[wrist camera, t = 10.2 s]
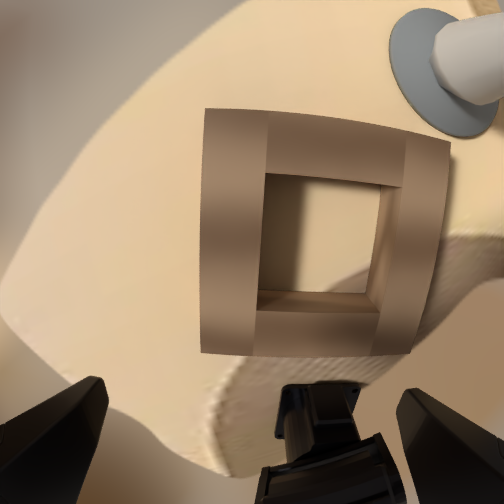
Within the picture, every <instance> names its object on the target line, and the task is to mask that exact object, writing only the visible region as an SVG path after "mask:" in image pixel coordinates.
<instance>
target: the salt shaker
mask: <svg viewBox="0 0 504 504" xmlns="http://www.w3.org/2000/svg"><path fill="white" fill-rule="evenodd" d="M428 61H429V63H430V65H431V68H432V70H433V72H434V75H435V77H436V80H437V82H438V85H440V86H442V87H443V88H445V89H446V90H448V91H450V92H451V93H453V94H454V95H456V96H457V97H459V98H461V99H463V100H466V101H468V102H471V103H473V104H475V105H484V104H488V103H492V102H494V101H496V100H498V99H500V98H502V97H504V12H501V13H495V14H489V15H484V16H479V17H474V18H469V19H464V20H460V21H456V22H452V23H448V24H446V25H445V26H444V27H443V28H442V29H441V30H440V31H439V32H438V33H437V34H436V35H435V41H434V46H433V51H432V54H431V56H430V58H429V60H428Z"/></svg>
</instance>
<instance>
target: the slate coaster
mask: <svg viewBox="0 0 504 504" xmlns="http://www.w3.org/2000/svg"><path fill="white" fill-rule="evenodd" d="M456 21H459V20H458V19H456V18H455V17H453V16H451V15H449V14H447V13H445V12H442V11H440V10H436V9H429V8H421V9H416V10H413V11H410V12H408V13H407V14H406V15H404V16H403V17H402V18H401V19H399V21H398V22H397V23H396V24H395V26H394V28H393V29H392V32H391V35H390V40H389V58H390V63H391V68H392V71H393V74H394V77H395V80H396V82H397V84H398V86H399V88H400V90H401V92H402V94H403V95H404V97H405V98H406V100H407V102H408V103H409V104H410V106H411V107H412V108H413V109H414V111H415V112H416V113H417V114H418V115H419V116H420V117H421V118H422V119H423V120H425V121H426V122H427V123H428V124H430V125H431V126H432V127H434V128H435V129H437V130H439V131H441V132H443V133H446V134H449V135H453V136H473V135H476V134H479V133H481V132H482V131H484V130H485V129H486V128H487V127H488V126H489V125H490V124H491V123H492V121H493V119H494V117H495V115H496V112H497V108H498V103H499V99H498V100H496V101H494V102H492V103H488V104H484V105H475V104H473V103H471V102H468V101H466V100H463V99H461V98H459V97H457V96H456V95H454V94H453V93H451V92H450V91H448V90H446V89H445V88H443V87H442V86H440V85H438V82H437V80H436V77H435V75H434V72H433V70H432V68H431V65H430V63H429V61H428V60H429V58H430V56H431V54H432V51H433V46H434V41H435V35H436V34H437V33H438V32H439V31H440V30H441V29H442V28H443V27H444V26H445V25H446V24H448V23H452V22H456Z"/></svg>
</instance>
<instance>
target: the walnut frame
mask: <svg viewBox="0 0 504 504" xmlns="http://www.w3.org/2000/svg"><path fill="white" fill-rule="evenodd" d="M450 148H451V142H449V141H445V140H441V139H438V138H434V137H430V136H426V135H422V134H418V133H414V132H409V131H405V130H400V129H396V128H391V127H386V126H381V125H376V124H370V123H365V122H359V121H353V120H346V119H340V118H333V117H325V116H317V115H309V114H300V113H289V112H278V111H264V110H247V109H214V108H205V118H204V135H203V154H202V176H201V206H200V344H201V353H209V354H223V355H239V356H260V357H303V358H318V357H361V356H381V355H397V354H410V352H411V349H412V346H413V343H414V340H415V336H416V333H417V330H418V327H419V324H420V320H421V317H422V313H423V310H424V306H425V302H426V299H427V295H428V291H429V287H430V283H431V279H432V274H433V270H434V265H435V261H436V256H437V251H438V246H439V240H440V235H441V229H442V223H443V216H444V209H445V202H446V194H447V185H448V175H449V163H450ZM265 173H277V174H290V175H302V176H313V177H323V178H333V179H342V180H351V181H359V182H367V183H375V184H382V186H381V195H380V204H379V212H378V220H377V227H376V234H375V241H374V248H373V254H372V260H371V266H370V271H369V277H368V282H367V287H366V292H365V294H364V293H325V292H297V291H274V290H258V276H259V261H260V246H261V231H262V216H263V201H264V185H265Z"/></svg>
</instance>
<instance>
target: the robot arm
mask: <svg viewBox="0 0 504 504" xmlns="http://www.w3.org/2000/svg"><path fill="white" fill-rule="evenodd" d="M353 389H355V390H353ZM286 391H289V392H286ZM360 391H361V388H360V386H359V384H357V383H352V384H330V385H286V386H284V387H283V388H282V390H281V396H280V402H279V408H278V414H277V420H276V426H275V432H274V434H275V438H277V439H285V447H286V457H287V463H286V464H282V465H278V466H273V467H270V466H268V467H263V468H262V471H261V476H260V478H259V483H258V488H257V493H256V499H255V503H254V504H407V500H406V494H405V490H404V486H403V483H402V480H401V477H400V474H399V471H398V469H397V466H396V464H395V462H394V460H393V458H392V456H391V454H390V452H389V449H388V447H387V445H386V443H385V441H384V439H383V437H382V435H381V433H380V432H379V433H377V434H374V435H373V436H372V437H370V438H367V439H364V440H362V441H361V439H360V436H359V433H358V430H357V427H356V424H355V421H354V419H353V415H352V413H353V411H354V408H355V405H356V402H357V399H358V396H359V394H360ZM108 404H109V397H108V394H107V390H106V387H105V383H104V380H103V379H102V378H100V377H96V376H88V377H86V378H84V379H83V380H81V381H79V382H77V383H76V384H74V385H72V386H70V387H69V388H67V389H65V390H63V391H62V392H60V393H58V394H56V395H55V396H53V397H51V398H49V399H47V400H46V401H44V402H42V403H40V404H38V405H36V406H35V407H33V408H31V409H29V410H28V411H26V412H24V413H22V414H20V415H18V416H17V417H15V418H13V419H11V420H9V421H7V422H6V423H5V424H1V425H0V504H76V502H77V499H78V496H79V494H80V491H81V488H82V485H83V482H84V479H85V477H86V474H87V471H88V469H89V466H90V464H91V461H92V458H93V456H94V453H95V451H96V448H97V445H98V442H99V438H100V434H101V430H102V426H103V423H104V418H105V415H106V411H107V408H108ZM396 415H397V420H398V425H399V429H400V434H401V439H402V444H403V449H404V453H405V457H406V460H407V463H408V466H409V469H410V473H411V476H412V479H413V482H414V486H415V489H416V492H417V496H418V499H419V503H420V504H504V441H503V440H502V439H500V438H497V437H496V436H495V435H493V434H491V433H490V432H488V431H486V430H485V429H483V428H482V427H480V426H478V425H477V424H475V423H473V422H472V421H470V420H468V419H467V418H465V417H463V416H462V415H460V414H459V413H457V412H455V411H454V410H452V409H451V408H449V407H447V406H446V405H444V404H442V403H441V402H439V401H438V400H436V399H434V398H433V397H431V396H430V395H428V394H426V393H425V392H423V391H422V390H420V389H418V388H412V389H406V390H405V391H404V393H403V395H402V397H401V400H400V402H399V404H398V406H397V410H396Z"/></svg>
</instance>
